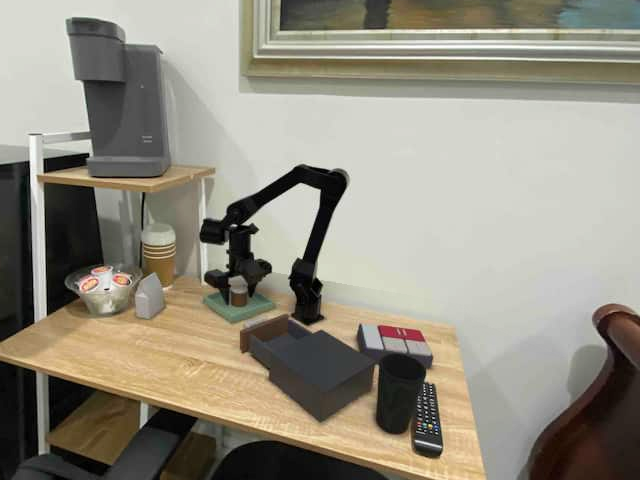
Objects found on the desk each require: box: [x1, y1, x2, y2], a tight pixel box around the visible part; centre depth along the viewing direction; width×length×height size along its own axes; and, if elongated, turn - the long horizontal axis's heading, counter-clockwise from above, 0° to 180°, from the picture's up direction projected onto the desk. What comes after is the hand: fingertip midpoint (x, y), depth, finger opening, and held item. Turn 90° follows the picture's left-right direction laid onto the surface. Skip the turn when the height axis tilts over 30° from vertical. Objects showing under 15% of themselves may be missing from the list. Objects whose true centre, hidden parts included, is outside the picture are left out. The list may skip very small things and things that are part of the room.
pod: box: [231, 284, 248, 307], centre depth 107 cm, size 4×4×4 cm
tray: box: [202, 283, 276, 324], centre depth 108 cm, size 14×14×2 cm
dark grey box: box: [268, 328, 377, 423], centre depth 77 cm, size 15×15×7 cm
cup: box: [375, 353, 428, 435], centre depth 67 cm, size 8×8×12 cm
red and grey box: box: [356, 323, 434, 370], centre depth 90 cm, size 11×4×15 cm
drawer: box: [239, 313, 313, 369], centre depth 87 cm, size 18×13×5 cm
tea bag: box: [134, 271, 165, 320], centre depth 100 cm, size 4×7×10 cm, turn 164°
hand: (238, 300), depth 107 cm, fingers open, 7 cm apart
